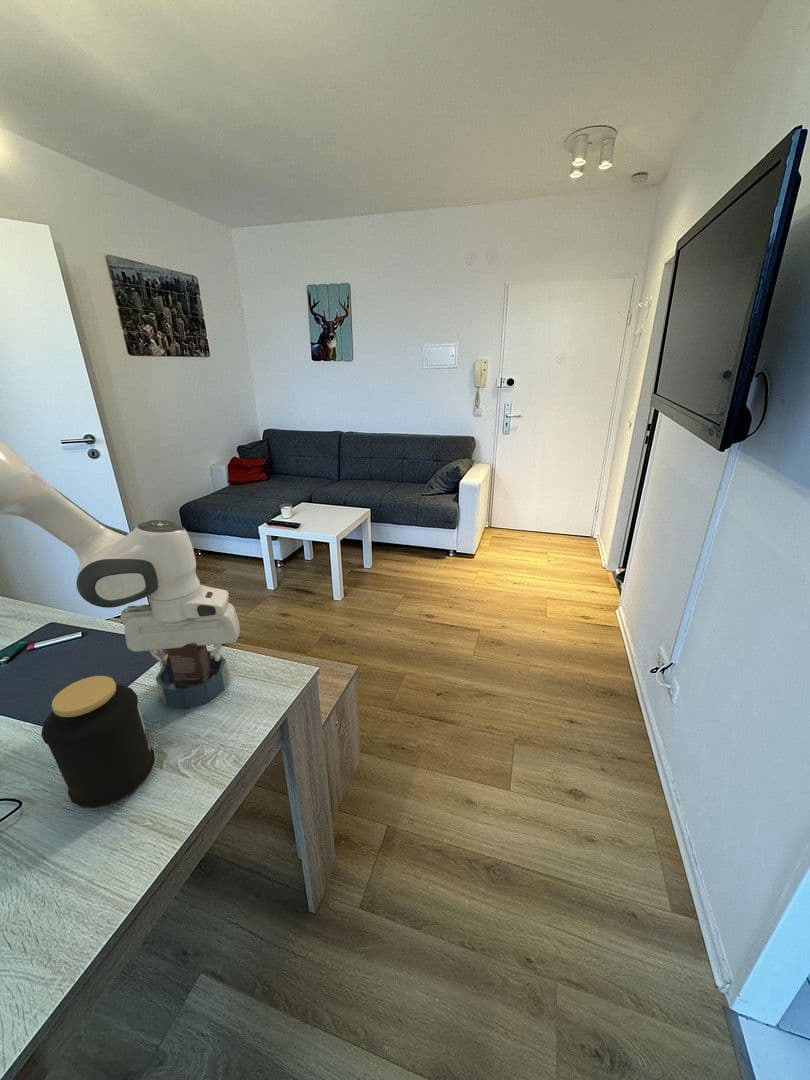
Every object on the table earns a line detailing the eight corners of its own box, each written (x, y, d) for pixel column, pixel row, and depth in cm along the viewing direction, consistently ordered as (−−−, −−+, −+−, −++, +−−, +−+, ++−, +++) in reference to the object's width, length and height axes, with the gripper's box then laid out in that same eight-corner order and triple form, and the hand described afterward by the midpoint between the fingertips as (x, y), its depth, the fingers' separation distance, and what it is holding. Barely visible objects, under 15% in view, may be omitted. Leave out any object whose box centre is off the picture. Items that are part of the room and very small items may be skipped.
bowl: (151, 713, 83) (146, 694, 81) (173, 669, 95) (169, 652, 93) (219, 705, 85) (216, 687, 83) (232, 663, 97) (230, 647, 95)
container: (65, 776, 70) (30, 688, 63) (148, 738, 77) (125, 655, 70) (73, 834, 61) (33, 739, 55) (165, 785, 69) (140, 696, 62)
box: (214, 679, 92) (204, 631, 87) (205, 694, 88) (195, 644, 83) (185, 679, 92) (174, 631, 87) (175, 694, 88) (163, 644, 83)
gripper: (110, 616, 77) (128, 677, 83) (229, 606, 81) (240, 666, 86) (125, 598, 83) (141, 657, 88) (236, 590, 86) (245, 647, 92)
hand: (191, 662), depth 87 cm, fingers open, 8 cm apart
